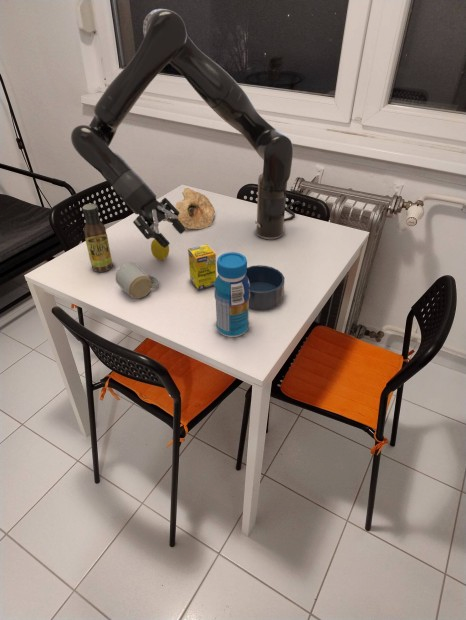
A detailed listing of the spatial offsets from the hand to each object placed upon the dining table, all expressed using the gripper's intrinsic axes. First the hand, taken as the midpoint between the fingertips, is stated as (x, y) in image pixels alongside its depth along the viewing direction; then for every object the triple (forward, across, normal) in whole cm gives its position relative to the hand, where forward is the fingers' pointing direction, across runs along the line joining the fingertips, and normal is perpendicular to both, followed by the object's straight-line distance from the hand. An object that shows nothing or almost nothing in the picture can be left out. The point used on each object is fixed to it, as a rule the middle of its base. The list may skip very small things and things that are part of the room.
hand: (175, 238), depth 110 cm
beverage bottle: (+26, -14, -7) cm, 30 cm away
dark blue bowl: (+27, +1, -9) cm, 28 cm away
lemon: (+2, +6, +16) cm, 17 cm away
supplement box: (+15, 0, +4) cm, 15 cm away
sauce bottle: (-8, -5, +26) cm, 28 cm away
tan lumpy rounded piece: (0, +34, +18) cm, 39 cm away
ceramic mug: (+4, -10, +14) cm, 18 cm away
